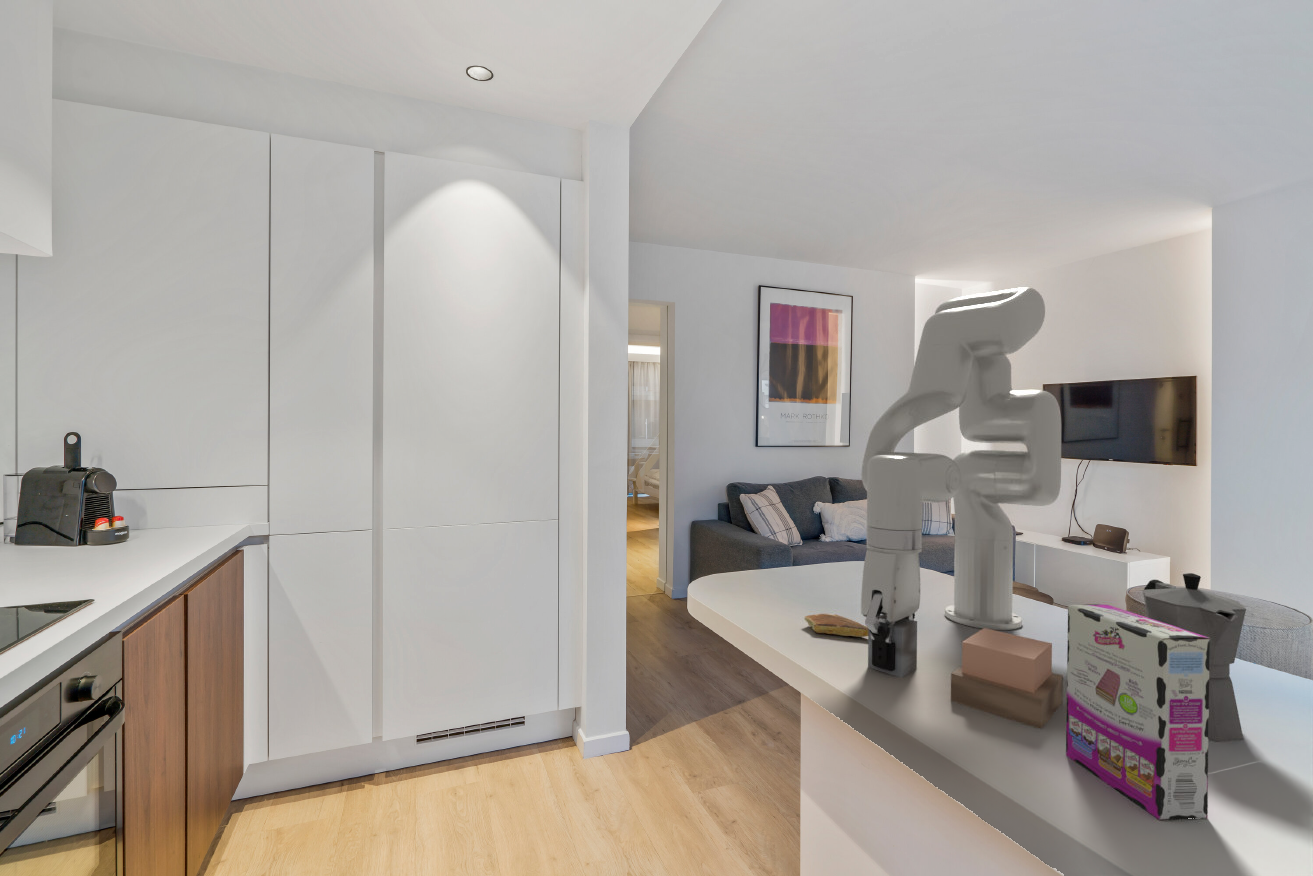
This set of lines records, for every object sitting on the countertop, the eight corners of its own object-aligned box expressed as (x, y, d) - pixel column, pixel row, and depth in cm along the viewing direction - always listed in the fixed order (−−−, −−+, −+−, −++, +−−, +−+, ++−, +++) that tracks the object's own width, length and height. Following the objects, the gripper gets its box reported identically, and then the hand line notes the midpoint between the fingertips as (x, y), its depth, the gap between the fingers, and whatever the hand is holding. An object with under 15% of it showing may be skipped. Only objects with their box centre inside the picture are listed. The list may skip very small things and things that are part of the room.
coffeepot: (1282, 758, 63) (1285, 590, 63) (1179, 747, 65) (1181, 584, 65) (1187, 696, 78) (1189, 560, 78) (1105, 689, 80) (1107, 556, 80)
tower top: (983, 656, 81) (983, 628, 81) (1051, 674, 75) (1051, 643, 75) (962, 672, 76) (962, 641, 76) (1033, 693, 70) (1033, 659, 70)
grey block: (883, 659, 90) (884, 613, 90) (916, 669, 86) (917, 621, 86) (868, 668, 86) (868, 620, 86) (901, 678, 83) (902, 628, 83)
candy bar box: (1212, 821, 52) (1215, 637, 52) (1160, 824, 52) (1163, 638, 52) (1106, 753, 63) (1108, 601, 63) (1062, 755, 63) (1064, 602, 63)
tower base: (977, 682, 82) (978, 653, 82) (1062, 706, 75) (1063, 675, 75) (950, 704, 76) (951, 673, 76) (1041, 733, 68) (1041, 699, 68)
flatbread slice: (877, 639, 97) (877, 628, 97) (840, 645, 94) (840, 634, 94) (834, 621, 107) (834, 611, 107) (799, 626, 104) (799, 616, 104)
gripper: (894, 530, 95) (893, 642, 95) (840, 542, 83) (839, 671, 83) (943, 536, 89) (941, 655, 89) (892, 550, 78) (891, 688, 78)
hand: (892, 661), depth 86 cm, fingers closed on grey block, 5 cm apart
